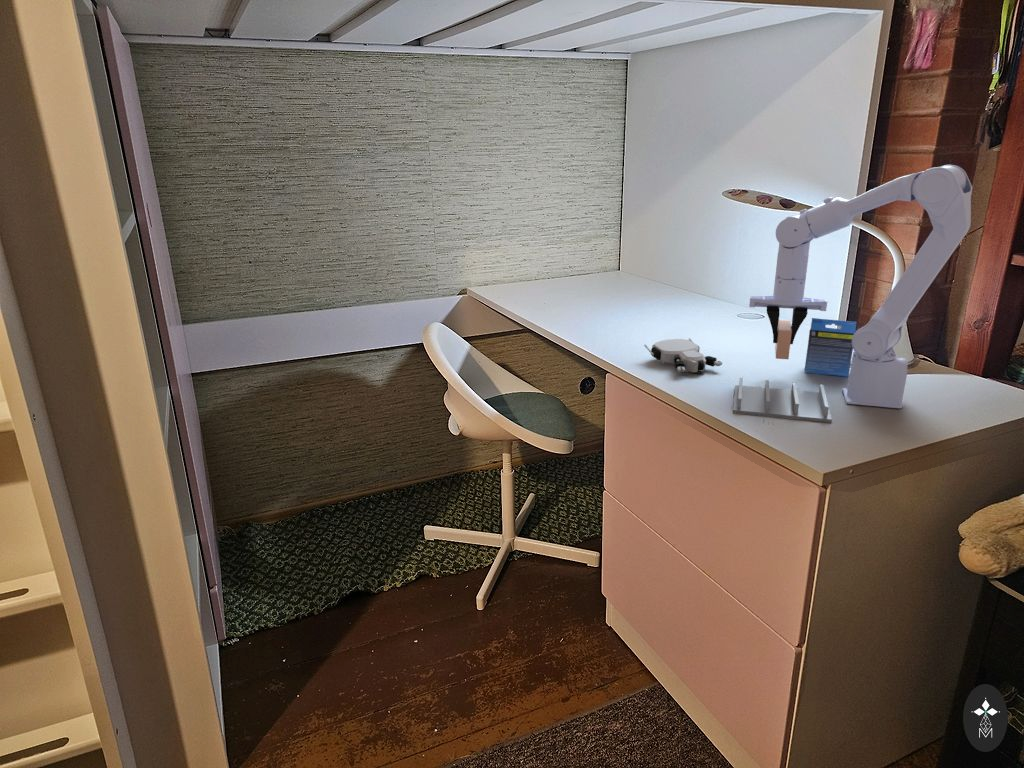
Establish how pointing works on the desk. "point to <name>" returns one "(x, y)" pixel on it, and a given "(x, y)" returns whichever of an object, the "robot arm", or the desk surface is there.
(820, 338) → the label tape box
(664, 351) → the robot toy
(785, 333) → the tile
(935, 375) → the desk surface
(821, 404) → the rack
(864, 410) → the desk surface
